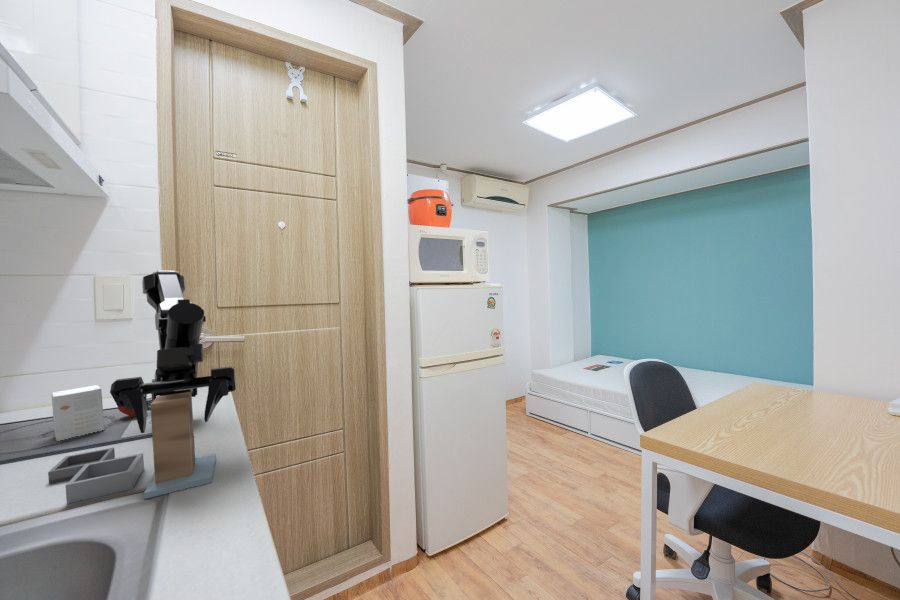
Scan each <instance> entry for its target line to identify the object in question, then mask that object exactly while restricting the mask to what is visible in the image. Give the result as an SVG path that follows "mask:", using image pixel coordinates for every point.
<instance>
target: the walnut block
mask: <svg viewBox="0 0 900 600" xmlns="http://www.w3.org/2000/svg"><path fill="white" fill-rule="evenodd" d="M150 419H151V434H152V452H153V465H154V466H153V468H154V469H153V470H154V472H155V484H156V483H161V482H165V481H169V480H174V479H178V478H182V477H186V476H191V475H192V473H193V470H194V466H195V458H196V451H195V449H196V448H195V432H194V429H195V428H194V420H193V419H194V415H193V397H192V394H191V392H186V393H179V394H172V395H164V396H156V398H155V399H154V401H153V402H151V403H150Z"/></svg>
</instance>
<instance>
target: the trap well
mask: <svg viewBox="0 0 900 600" xmlns="http://www.w3.org/2000/svg"><path fill="white" fill-rule="evenodd" d="M115 457H116V452H115V447H114V446H113V447H108V448H104V449H99V450H93V451H87V452H81V453H77V454H71V455H66V456H65V457H63V458H62V459H61V460H60V461H58V463H57V464H55V465H54V467H52V468H51V469H50V470H49V471H48V472H47V473H48V476H47V477H48V484H54V483H58V482H62V481H67V480H71V479H72V478H73V477H74V476H75V475H76V474H77V473H78V472H79V471H80V469H81V468H82V467H83V466H84V465H85V464H89V463H95V462H100V461H105V460H110V459H115Z"/></svg>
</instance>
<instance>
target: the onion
mask: <svg viewBox="0 0 900 600" xmlns="http://www.w3.org/2000/svg"><path fill="white" fill-rule="evenodd" d="M145 402H146V403H147V400H146V401H145ZM117 409H118V411H119V412H120V413H122V414H125V415H127V416H129V417H136V415H135V412H134V410H133V409H132V410H127V409H126V408H125V407H118V406H117Z"/></svg>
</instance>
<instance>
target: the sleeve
mask: <svg viewBox="0 0 900 600" xmlns="http://www.w3.org/2000/svg"><path fill="white" fill-rule="evenodd" d="M144 470H145V462H144V452H141V453H136V454H131V455H125V456H121V457H116V458H114V459H110V460H105V461H100V462H95V463H89V464H85V465H84V466H83V467H82V468H81V469H80V471H79V472H78V473H77V474H76V475H75V476H74V477H73V478H72V479H69V481H68V482H67V483H66V484H65V495H66V497H65V498H66V504H67V505H68V504H73V503H76V502H77V501H78V502H81V501H80V500H82V501H86V500H90V499H95V498H98V497H102V496H108V495H111V494H115V493H120V492H124V491H129V490H133V489H134V486H136V485H135V484H136V483H137V482H138V480H139V478H140V476H141V474H142V473H143V472H144Z"/></svg>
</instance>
